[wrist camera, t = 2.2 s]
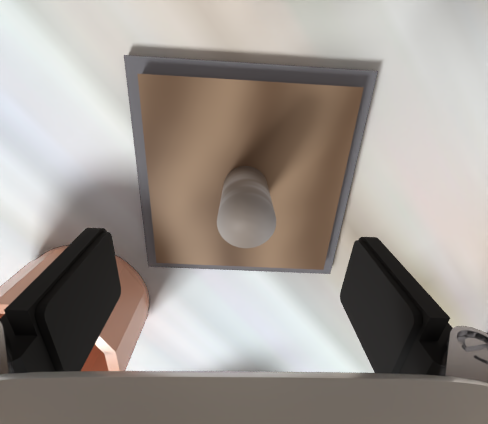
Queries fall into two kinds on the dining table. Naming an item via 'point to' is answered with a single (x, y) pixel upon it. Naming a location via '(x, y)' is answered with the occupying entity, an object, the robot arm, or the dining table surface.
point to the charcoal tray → (251, 73)
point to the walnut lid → (245, 168)
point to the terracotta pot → (119, 323)
